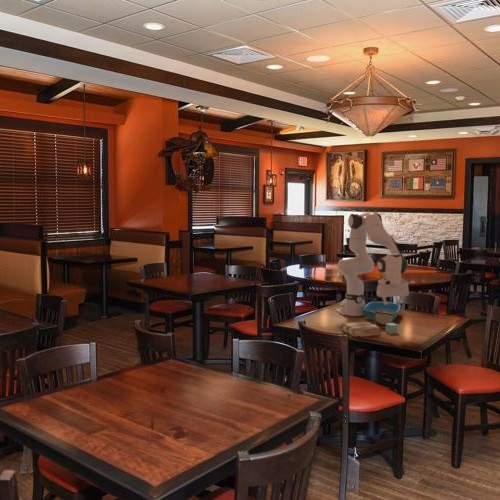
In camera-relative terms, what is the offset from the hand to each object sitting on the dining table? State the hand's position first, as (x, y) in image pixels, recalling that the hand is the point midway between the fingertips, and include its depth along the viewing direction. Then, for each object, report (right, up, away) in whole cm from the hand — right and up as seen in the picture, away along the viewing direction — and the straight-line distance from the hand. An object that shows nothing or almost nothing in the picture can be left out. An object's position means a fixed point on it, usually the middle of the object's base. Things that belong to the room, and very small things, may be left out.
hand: (392, 303), depth 327 cm
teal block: (0, -17, +2) cm, 17 cm away
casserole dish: (+4, -13, +44) cm, 46 cm away
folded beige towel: (-19, -18, +1) cm, 26 cm away
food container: (-1, -16, +16) cm, 22 cm away
